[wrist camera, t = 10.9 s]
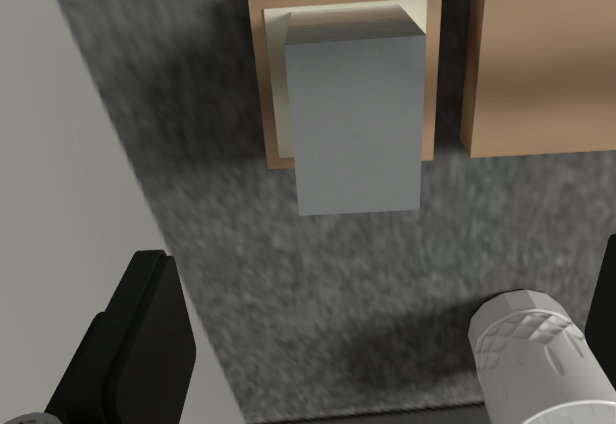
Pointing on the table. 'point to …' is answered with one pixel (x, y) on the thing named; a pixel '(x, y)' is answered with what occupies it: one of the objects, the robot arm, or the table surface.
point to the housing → (356, 108)
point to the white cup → (537, 364)
